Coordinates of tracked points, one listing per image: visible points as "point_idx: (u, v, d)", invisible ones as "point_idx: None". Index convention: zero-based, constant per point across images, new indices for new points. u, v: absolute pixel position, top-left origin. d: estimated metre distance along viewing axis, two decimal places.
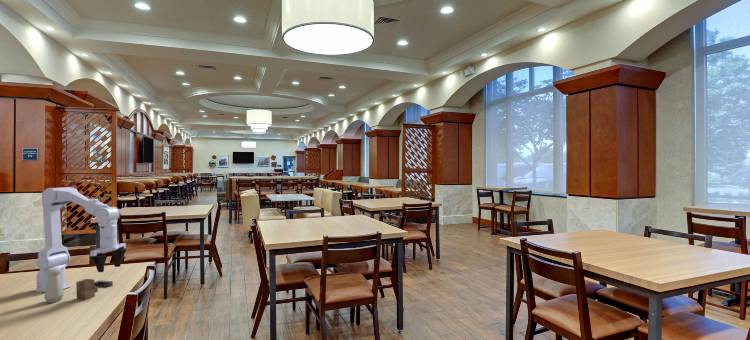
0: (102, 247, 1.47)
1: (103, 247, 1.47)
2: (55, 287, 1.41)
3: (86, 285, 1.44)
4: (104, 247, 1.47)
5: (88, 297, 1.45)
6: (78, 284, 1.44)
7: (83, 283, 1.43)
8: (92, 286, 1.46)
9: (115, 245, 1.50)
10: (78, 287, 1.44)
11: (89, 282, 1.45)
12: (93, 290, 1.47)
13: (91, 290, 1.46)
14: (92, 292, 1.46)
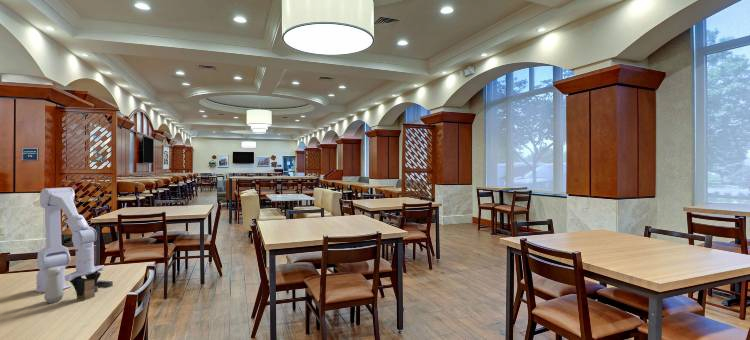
0: (78, 271, 1.43)
1: (79, 271, 1.43)
2: (55, 287, 1.41)
3: (86, 285, 1.44)
4: (80, 271, 1.43)
5: (88, 297, 1.45)
6: None
7: None
8: (92, 286, 1.46)
9: (92, 268, 1.45)
10: None
11: (89, 281, 1.45)
12: (93, 290, 1.47)
13: (91, 290, 1.46)
14: (92, 292, 1.46)
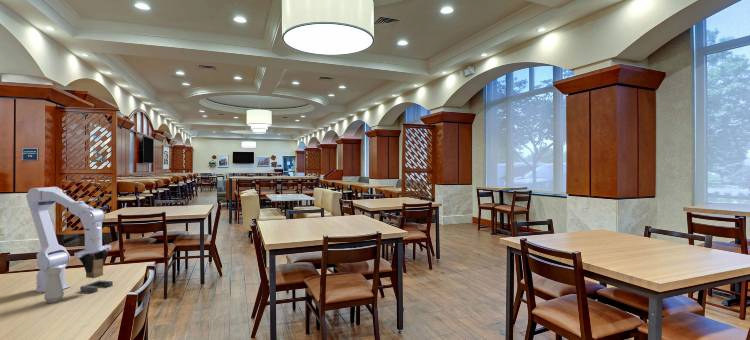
0: (87, 249, 1.50)
1: (88, 249, 1.50)
2: (55, 287, 1.41)
3: (95, 264, 1.51)
4: (89, 249, 1.50)
5: (97, 275, 1.52)
6: None
7: (92, 262, 1.50)
8: (101, 265, 1.53)
9: (100, 247, 1.53)
10: None
11: (98, 261, 1.52)
12: (102, 269, 1.54)
13: (100, 269, 1.53)
14: (101, 271, 1.53)
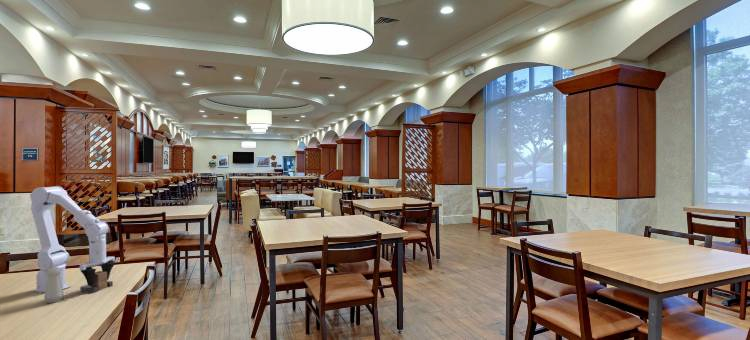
0: (91, 261, 1.53)
1: (92, 261, 1.53)
2: (55, 287, 1.41)
3: (99, 277, 1.55)
4: (93, 261, 1.53)
5: (101, 288, 1.55)
6: None
7: (97, 275, 1.54)
8: (105, 278, 1.57)
9: (104, 259, 1.56)
10: None
11: (102, 273, 1.56)
12: (106, 281, 1.57)
13: (104, 281, 1.57)
14: (105, 283, 1.57)
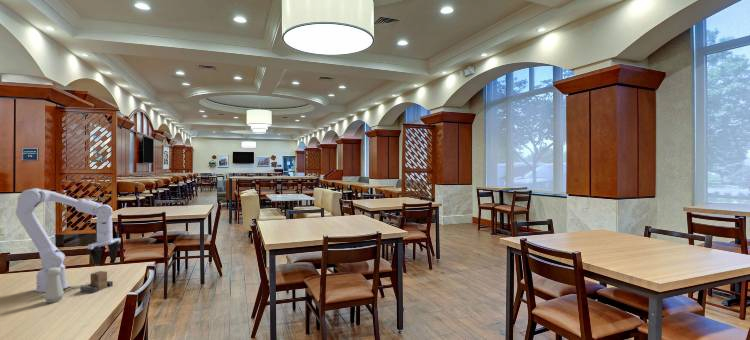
0: (99, 241, 1.62)
1: (100, 241, 1.62)
2: (55, 287, 1.41)
3: (99, 277, 1.55)
4: (100, 241, 1.62)
5: (101, 288, 1.55)
6: (92, 276, 1.54)
7: (97, 275, 1.54)
8: (105, 278, 1.57)
9: (110, 239, 1.65)
10: (92, 278, 1.54)
11: (102, 273, 1.56)
12: (106, 281, 1.57)
13: (104, 281, 1.57)
14: (105, 283, 1.57)
